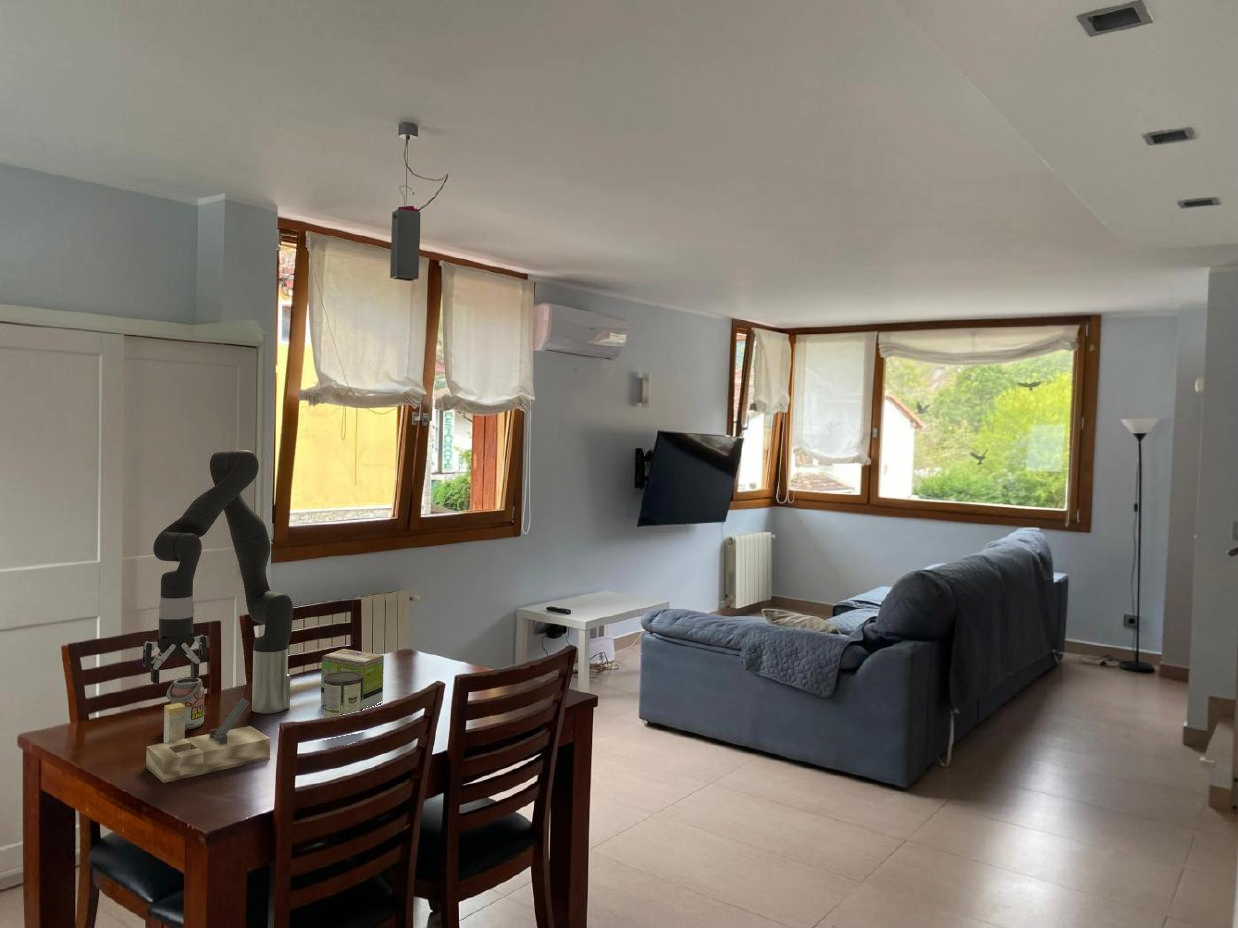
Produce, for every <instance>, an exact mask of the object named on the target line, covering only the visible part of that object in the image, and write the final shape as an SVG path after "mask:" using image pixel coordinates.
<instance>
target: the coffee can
mask: <svg viewBox="0 0 1238 928" xmlns="http://www.w3.org/2000/svg"><path fill="white" fill-rule="evenodd" d="M363 679H364V675H363V674H362V673H358V672H336V673H331V674H328V675H326V676H325V677H324V705H323V719H324V718H329V717H335V716H339V715H343V714H348V713H352V712H356V711H362V710H363Z"/></svg>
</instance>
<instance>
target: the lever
mask: <svg viewBox="0 0 1238 928" xmlns="http://www.w3.org/2000/svg"><path fill="white" fill-rule="evenodd" d="M250 704H251V702H250V701H249V700H248V699H246V698H244V697H241V699H240V700H239V701H238V703H237V704H236V705H235V706H234V708H233V709H232V710H231V712H230V713H229V715H228V716H227V717H226V718H225V719H224V721H223V722H222V724H220V726H219V728H217V729H218V730H217V731H216V732H214V733H213V734H212V736H213V737H214V738H215V739H217V740H218V741H219V736H224V735H226V734H227V733H228V731H229V730H232V728H233V726H234V725H235V723H236V722H237V721H238V719H239V718H240V717H241V715H242V714H243V713H244V711H245V710H247V709H246V708H248V706H249V705H250Z"/></svg>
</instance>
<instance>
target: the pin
mask: <svg viewBox="0 0 1238 928" xmlns="http://www.w3.org/2000/svg"><path fill="white" fill-rule="evenodd" d="M163 709H164V710H163V712H164V715H163V716H164V717H163V718H164V719H163V743H166V742H171V741H176V740H181V739H186V733H185V731H186V730H185V706H184V705H183V704H181V703H176V704H170V703H169V704H166V705H164V707H163Z"/></svg>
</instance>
